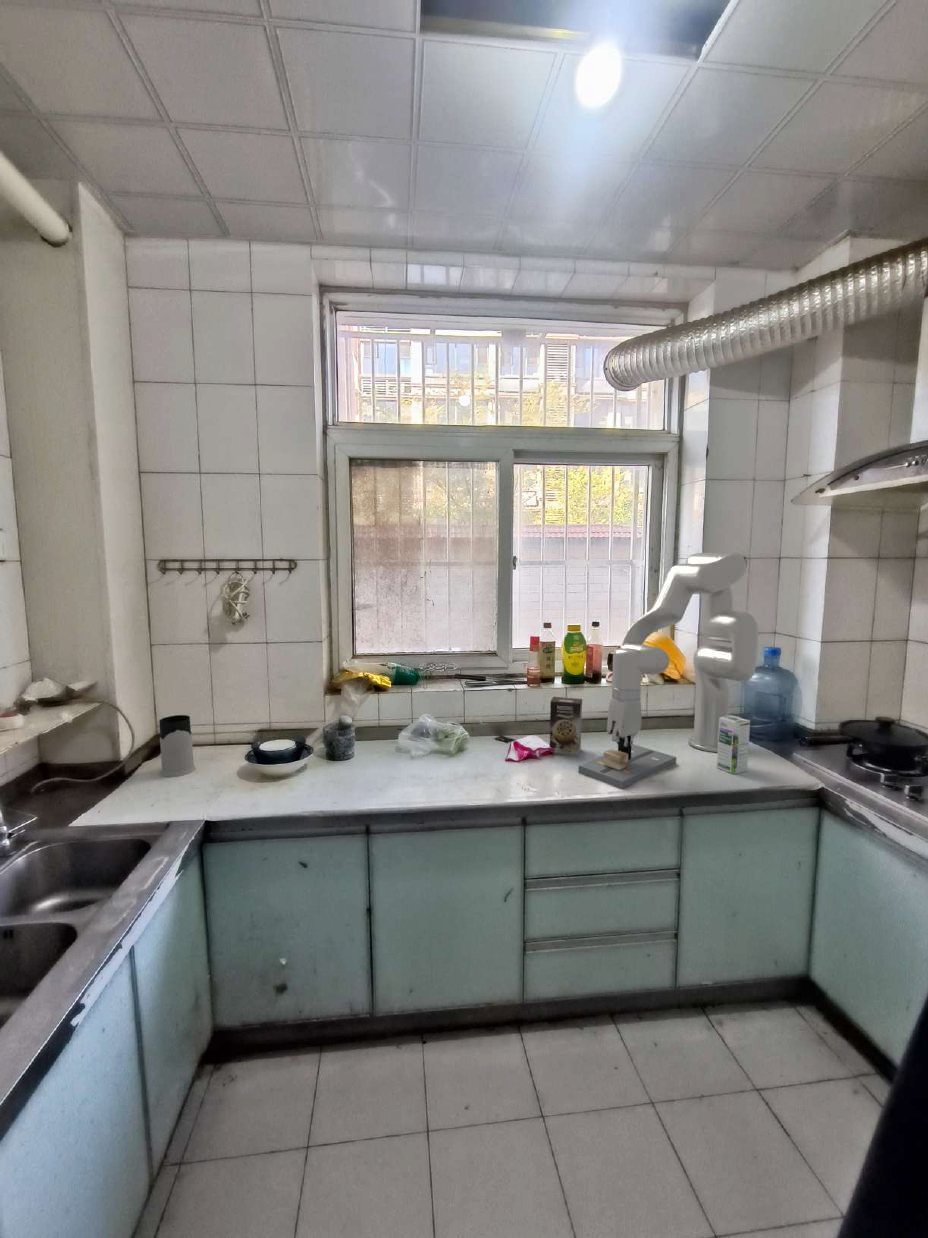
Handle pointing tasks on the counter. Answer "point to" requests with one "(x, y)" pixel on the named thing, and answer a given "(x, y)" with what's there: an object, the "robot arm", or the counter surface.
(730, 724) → the syrup box
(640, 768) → the board
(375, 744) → the counter surface
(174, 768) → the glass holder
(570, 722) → the cookie box
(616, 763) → the block
